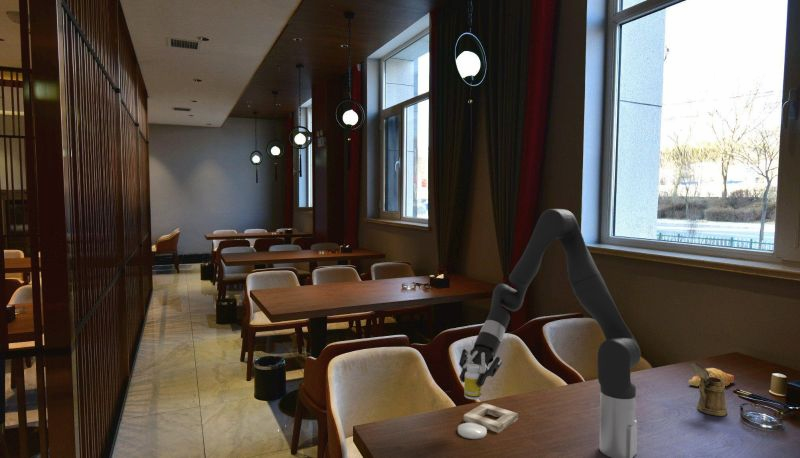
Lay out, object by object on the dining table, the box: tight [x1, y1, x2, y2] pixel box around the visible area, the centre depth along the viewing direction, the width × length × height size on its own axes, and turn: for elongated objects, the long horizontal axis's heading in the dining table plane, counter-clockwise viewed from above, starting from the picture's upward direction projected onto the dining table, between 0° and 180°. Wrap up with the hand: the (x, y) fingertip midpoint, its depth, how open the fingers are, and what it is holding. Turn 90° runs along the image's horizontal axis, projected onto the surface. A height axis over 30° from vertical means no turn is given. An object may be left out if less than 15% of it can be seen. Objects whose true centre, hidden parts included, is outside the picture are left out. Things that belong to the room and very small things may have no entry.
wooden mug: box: [690, 362, 728, 417], centre depth 167 cm, size 9×14×18 cm, turn 110°
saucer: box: [457, 422, 488, 440], centre depth 151 cm, size 9×9×1 cm
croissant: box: [688, 367, 736, 387], centre depth 193 cm, size 21×10×8 cm, turn 103°
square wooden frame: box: [463, 402, 519, 434], centre depth 160 cm, size 13×13×2 cm
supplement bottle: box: [463, 364, 483, 400], centre depth 151 cm, size 5×5×10 cm
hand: (470, 383), depth 149 cm, fingers closed on supplement bottle, 5 cm apart
